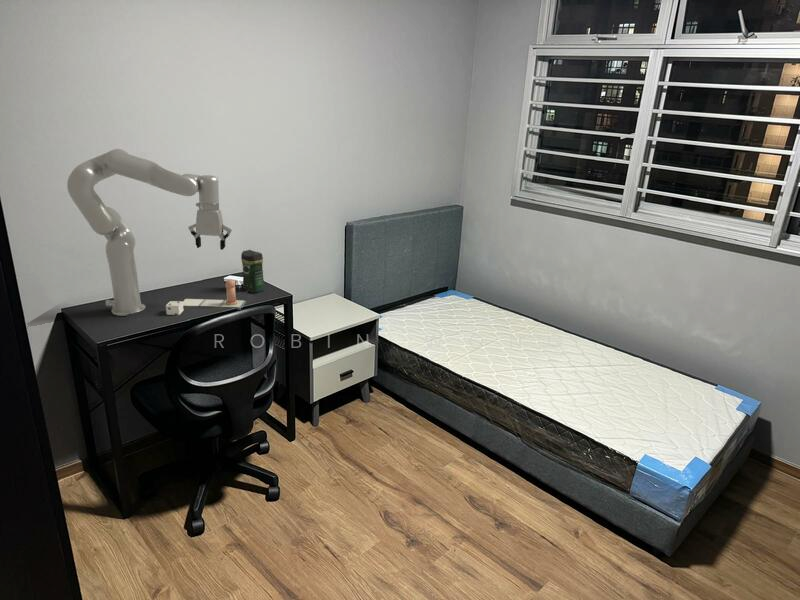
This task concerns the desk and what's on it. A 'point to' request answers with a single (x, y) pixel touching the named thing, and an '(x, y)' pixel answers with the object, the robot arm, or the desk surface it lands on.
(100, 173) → the robot arm
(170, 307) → the die
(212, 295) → the desk surface
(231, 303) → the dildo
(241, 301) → the board
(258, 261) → the coffee jar
